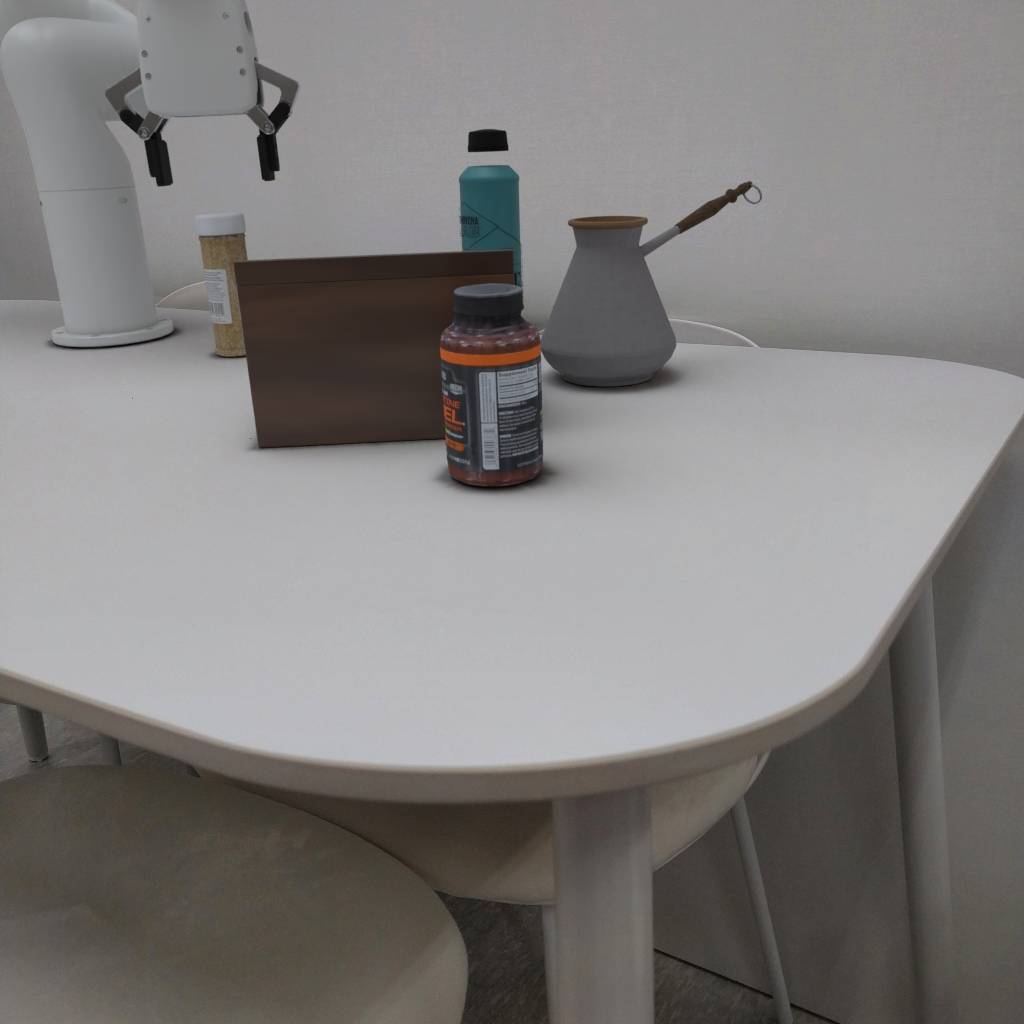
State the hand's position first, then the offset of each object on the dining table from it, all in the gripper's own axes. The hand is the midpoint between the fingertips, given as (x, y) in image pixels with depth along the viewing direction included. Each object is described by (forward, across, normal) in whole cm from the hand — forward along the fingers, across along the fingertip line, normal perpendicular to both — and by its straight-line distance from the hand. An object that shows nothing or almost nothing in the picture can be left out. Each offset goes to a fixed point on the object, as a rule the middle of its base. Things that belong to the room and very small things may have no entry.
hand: (217, 183), depth 91 cm
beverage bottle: (+16, -26, -7) cm, 31 cm away
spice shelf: (+16, -17, +25) cm, 34 cm away
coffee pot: (+17, -39, +15) cm, 45 cm away
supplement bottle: (+17, -24, +41) cm, 50 cm away
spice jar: (+16, 0, 0) cm, 16 cm away
